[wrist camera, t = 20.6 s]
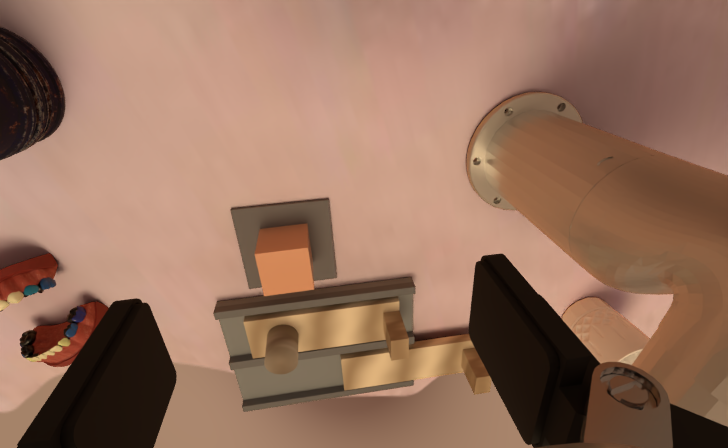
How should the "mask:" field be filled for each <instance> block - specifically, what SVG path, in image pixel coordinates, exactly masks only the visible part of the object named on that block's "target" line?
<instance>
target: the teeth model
mask: <svg viewBox="0 0 728 448" xmlns="http://www.w3.org/2000/svg"><path fill="white" fill-rule="evenodd" d="M57 266H58V264H57V262H56V261H55V259H54V258H53V256H52V254H50V253H48V254H45V255H41V256H38V257H35V258H32V259H29V260H25V261H22V262H20V263H17V264H14V265H11V266H8V267H5V268H3V269H0V312H1V311H3V309H5V308H6V307H8V306H9V303H19V302H20V301H21V300H22V298H23V297H27V296H28V295H32V294H35V293H37V292H39V293H42V292H43V291H44V290H45V289H49V288H50V287H54V286H56V282H55V280H53V278H54V276H55V274H56V270H57ZM7 301H8V302H9V303H8V302H7ZM107 310H108V307H107V306H106V305H104V304H102V303H99V302H90V303H88V304H84V305H80V306H77V307H75V308H73V309H72V310H70V314H69V315H68V317H67V322H65V323H62V324H59V325H51V326H37V327H36V328H34V329H33V330H29V331H26V332H24V333H23V334H22V337H21V338H20V341H21V342H20V346H21V347H22V348H21V351H22V352H21V354H22V356H23V357H24V358H26V359H28V360H29V361H32V362H36V361H37V362H44V363H46V364H47V365H50V366H53V367H64V366H68V365H70V364H72V362H73V361H74V359H75V358H76V356H77V355H78V353H79V352H80V350H81V349H82V347H83V346H84V344H85V343H86V341H87V340H88V339H89V337H90V336H91V334H92V333H93V331H94V330H95V328H96V327H97V325H98V324H99V322H100V321H101V319H102V318H103V316H104V315H105V313H106V312H107Z"/></svg>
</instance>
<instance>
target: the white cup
mask: <svg viewBox="0 0 728 448" xmlns="http://www.w3.org/2000/svg"><path fill="white" fill-rule="evenodd" d="M562 320H563V321H564V322H565V323H566V324H567V326H568V327H569V328H570V329H571V330H572V331H573V333H574V334H575V335H576V336H577V337H578V338H579V339H580V341H581V342H582V343H583V344H584V345H585V346H586V347H587V349H588V350H589V351H590V352H591V353H592V354H593V356H594V357H595V358H596V359H597V360H598V361H599V362H600V364H601V363H605V362H621V363H626V364H630V365H632V364H633V362H634V361H635V359H636V358H637V357H638V355H639V354H640V352H641V351H642V350H643V348H644V347H645V345H646V344H647V343H648V341H649V340H650V338H649V337H648V336H646V335H645V334H644V333H643V332H642V331H641V330H639V329H638V328H637V327H636V326H635V325H633V324H632V323H631V322H630V321H628V320H627V319H626V318H625V317H623V316H622V315H621V314H620V313H619V312H617V311H615V310H614V309H613V308H612V307H610V306H609V305H608V304H607V303H606V302H605V301H603V300H601V299H599V298H597V297H588V298H585V299H582V300H579V301H577V302H575V303H574V304H573V305H571V306H570V307H569V308H568V309H567V310H566V311H565V313H564V314H563V316H562Z"/></svg>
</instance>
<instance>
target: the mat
mask: <svg viewBox="0 0 728 448" xmlns="http://www.w3.org/2000/svg"><path fill="white" fill-rule="evenodd" d="M231 214H232V219H233V223H234V227H235V231H236V235H237V239H238V244H239V248H240V252H241V256H242V260H243V265H244V269H245V273H246V277H247V281H248V285H249V289H252V288H260V287H262V284H261V280H260V276H259V271H258V267H257V263H256V258H255V250H256V245H257V240H258V235H259V230H260V229H264V228H272V227H281V226H289V225H298V224H306V223H307V224H308V231H309V238H310V245H311V252H312V259H313V273H314V281H317V280H325V279H333V278H337V276H336V266H335V256H334V246H333V236H332V227H331V217H330V207H329V199H319V200H309V201H300V202H290V203H280V204H271V205H261V206H251V207H241V208H232V209H231Z"/></svg>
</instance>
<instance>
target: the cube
mask: <svg viewBox="0 0 728 448" xmlns="http://www.w3.org/2000/svg"><path fill="white" fill-rule="evenodd" d="M255 258H256V263H257V267H258V271H259V276H260V280H261V284H262V289H263V293H264V296H270V295H277V294H285V293H292V292H300V291H307V290H314V273H313V259H312V252H311V245H310V238H309V231H308V224H307V223H306V224H298V225H289V226H281V227H272V228H264V229H260V230H259V235H258V240H257V245H256V250H255Z"/></svg>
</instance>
